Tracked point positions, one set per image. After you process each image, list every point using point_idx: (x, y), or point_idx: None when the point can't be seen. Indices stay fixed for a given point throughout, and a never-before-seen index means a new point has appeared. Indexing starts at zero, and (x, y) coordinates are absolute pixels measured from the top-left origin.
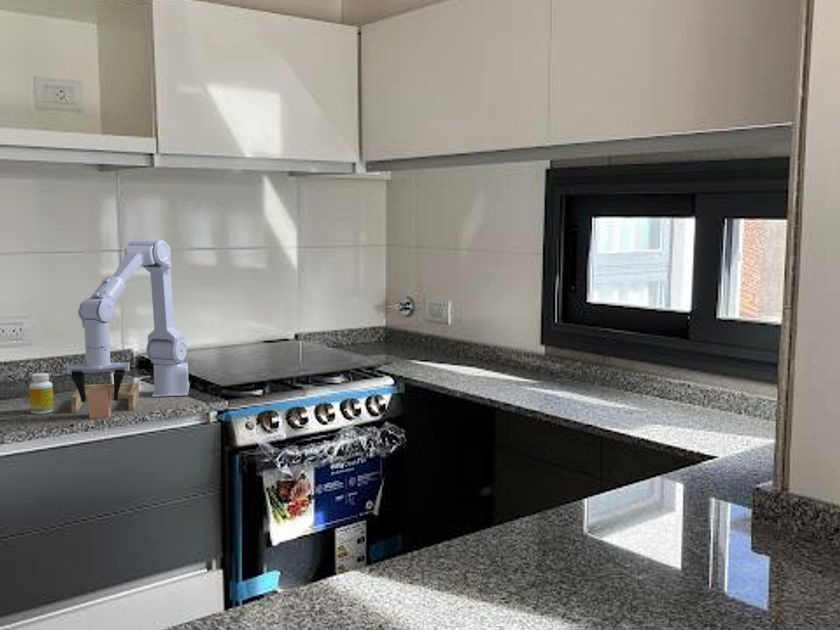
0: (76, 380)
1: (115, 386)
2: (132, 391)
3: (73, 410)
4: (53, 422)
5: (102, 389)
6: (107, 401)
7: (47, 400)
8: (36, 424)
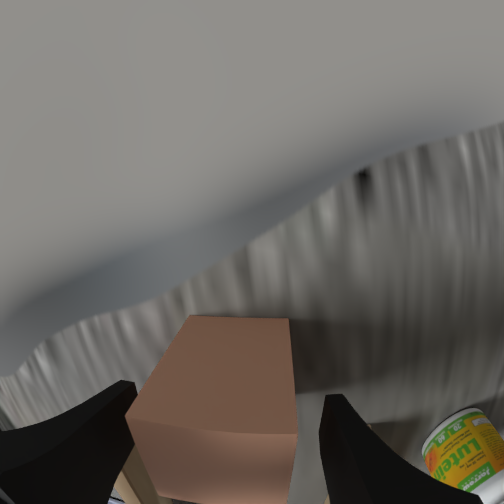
0: (432, 499)
1: (67, 427)
2: (127, 495)
3: None
4: (449, 265)
5: (176, 446)
6: (162, 362)
7: (461, 451)
8: (498, 241)
